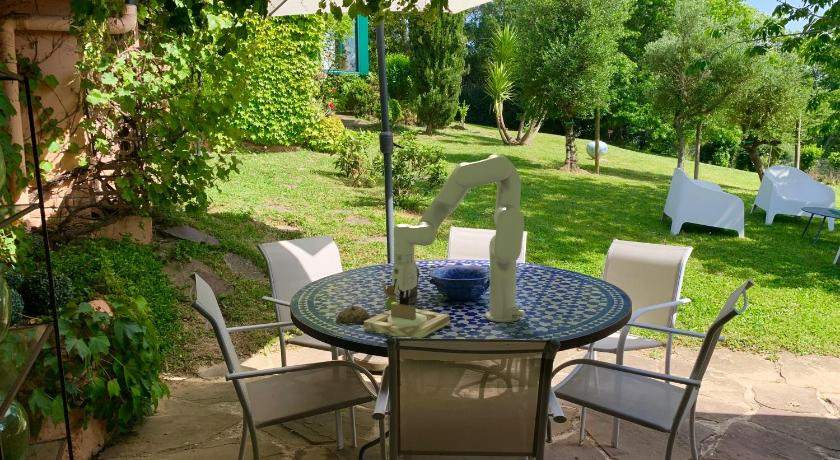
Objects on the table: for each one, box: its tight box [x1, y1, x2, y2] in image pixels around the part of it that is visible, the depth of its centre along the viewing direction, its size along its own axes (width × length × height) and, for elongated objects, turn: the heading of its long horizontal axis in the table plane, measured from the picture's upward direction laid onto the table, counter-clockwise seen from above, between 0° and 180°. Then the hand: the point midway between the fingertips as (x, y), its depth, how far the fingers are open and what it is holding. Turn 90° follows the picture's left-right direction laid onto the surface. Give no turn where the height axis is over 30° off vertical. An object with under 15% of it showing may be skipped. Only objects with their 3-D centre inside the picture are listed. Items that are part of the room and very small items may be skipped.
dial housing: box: [363, 308, 451, 338], centre depth 233 cm, size 22×22×3 cm
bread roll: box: [335, 305, 371, 325], centre depth 242 cm, size 13×12×5 cm
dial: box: [388, 302, 427, 328], centre depth 232 cm, size 14×14×6 cm
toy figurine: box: [381, 280, 399, 311], centre depth 251 cm, size 5×6×12 cm
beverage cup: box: [408, 265, 421, 304], centre depth 263 cm, size 7×7×20 cm
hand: (404, 306), depth 240 cm, fingers closed
